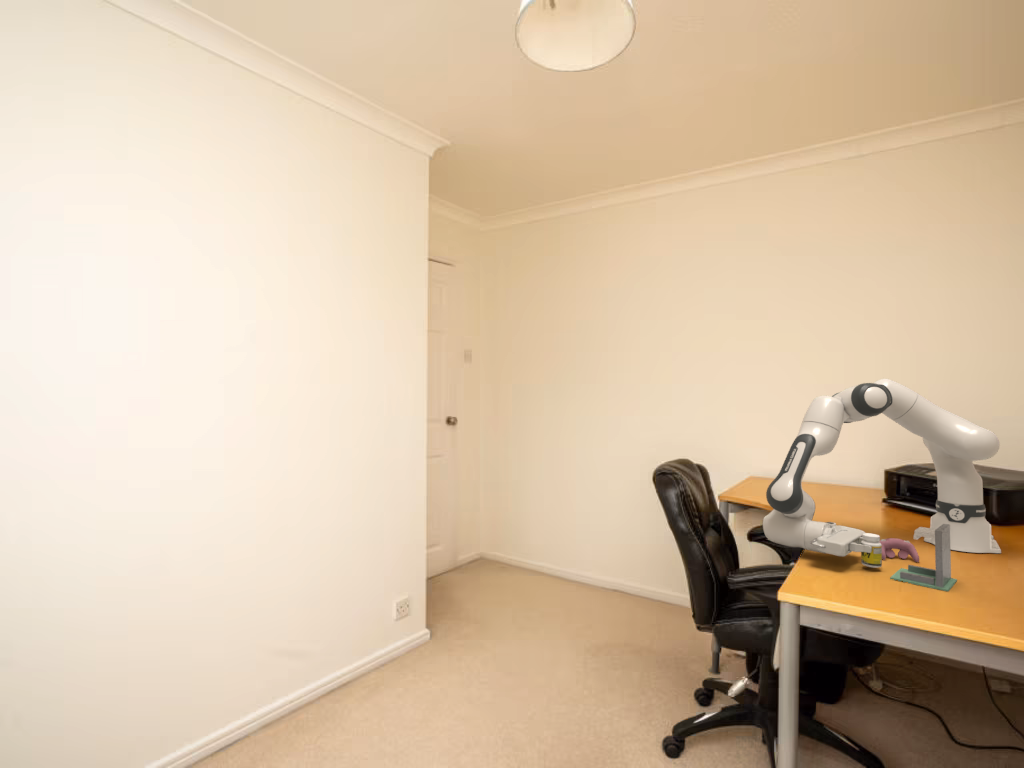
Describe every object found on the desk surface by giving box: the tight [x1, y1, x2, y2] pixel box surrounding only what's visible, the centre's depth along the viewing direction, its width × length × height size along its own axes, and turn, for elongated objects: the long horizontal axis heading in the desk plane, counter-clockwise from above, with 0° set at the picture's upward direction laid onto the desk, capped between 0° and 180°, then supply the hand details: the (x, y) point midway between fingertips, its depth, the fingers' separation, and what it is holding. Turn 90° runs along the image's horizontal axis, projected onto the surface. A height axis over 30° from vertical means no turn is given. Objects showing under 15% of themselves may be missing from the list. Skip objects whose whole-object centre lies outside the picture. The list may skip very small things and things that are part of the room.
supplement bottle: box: [860, 532, 883, 569], centre depth 148 cm, size 5×5×8 cm
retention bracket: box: [900, 524, 952, 588], centre depth 139 cm, size 10×9×14 cm
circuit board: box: [889, 567, 958, 592], centre depth 140 cm, size 11×12×1 cm
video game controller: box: [879, 537, 920, 563], centre depth 158 cm, size 10×5×7 cm, turn 72°
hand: (875, 547), depth 148 cm, fingers closed on supplement bottle, 5 cm apart
